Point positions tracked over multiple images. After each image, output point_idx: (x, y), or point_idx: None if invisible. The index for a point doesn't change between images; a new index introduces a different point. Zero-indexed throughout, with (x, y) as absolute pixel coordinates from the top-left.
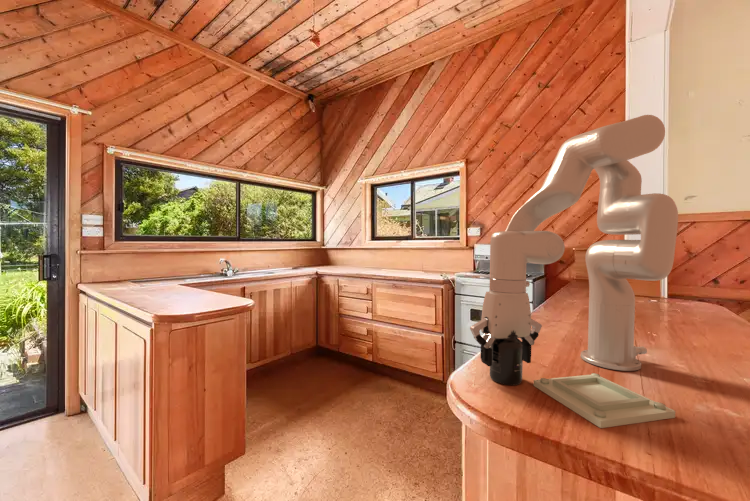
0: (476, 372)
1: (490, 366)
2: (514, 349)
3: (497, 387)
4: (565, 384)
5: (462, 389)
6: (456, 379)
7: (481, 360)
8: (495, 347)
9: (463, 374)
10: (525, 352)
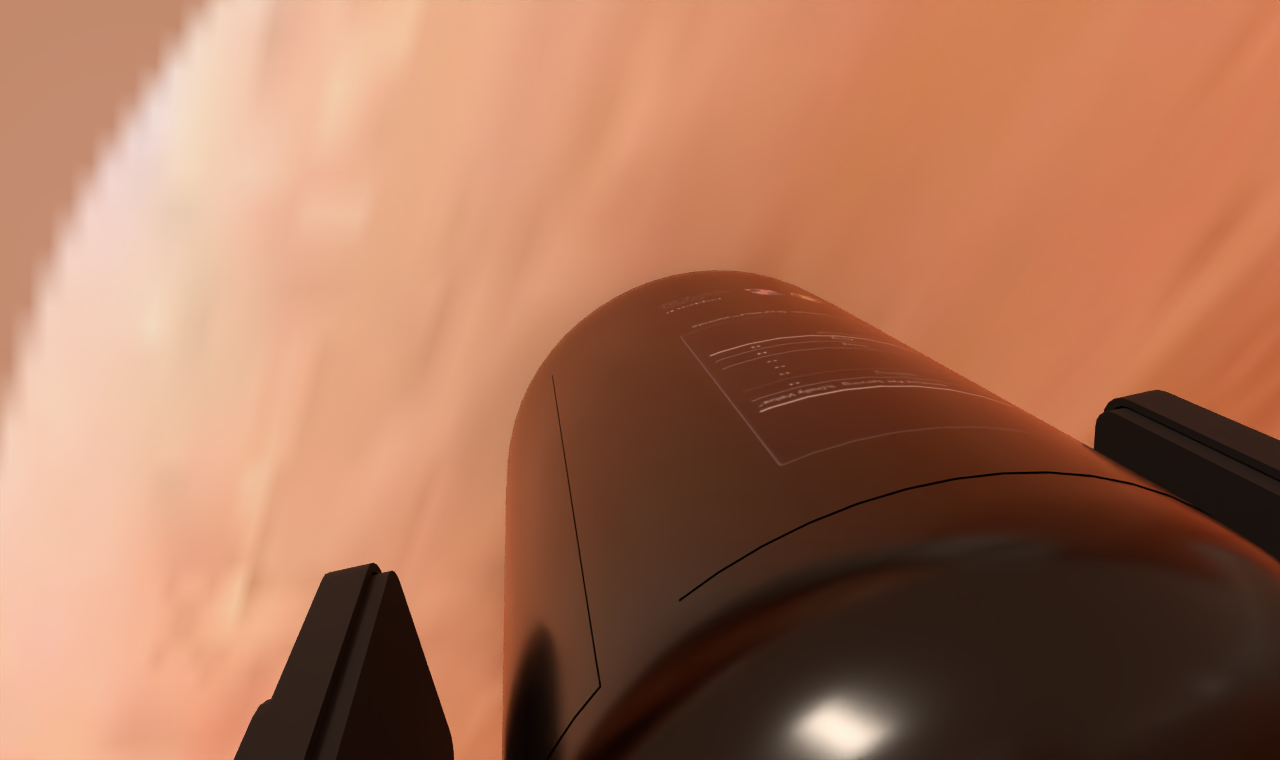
0: (375, 223)
1: (506, 529)
2: None
3: None
4: None
5: (72, 711)
6: (7, 466)
7: (327, 575)
8: None
9: (141, 297)
10: None
